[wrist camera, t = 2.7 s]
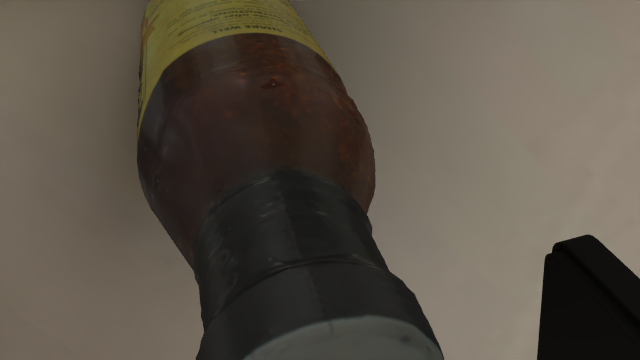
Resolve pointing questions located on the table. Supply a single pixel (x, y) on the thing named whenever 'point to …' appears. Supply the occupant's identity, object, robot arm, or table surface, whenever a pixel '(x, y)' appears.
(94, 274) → the table surface
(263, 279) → the sauce bottle
